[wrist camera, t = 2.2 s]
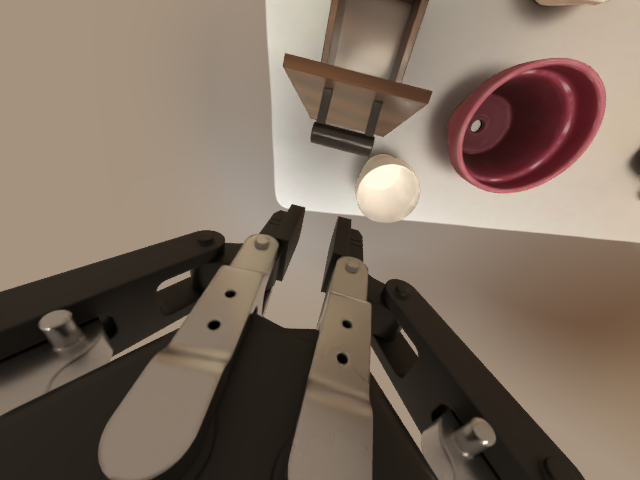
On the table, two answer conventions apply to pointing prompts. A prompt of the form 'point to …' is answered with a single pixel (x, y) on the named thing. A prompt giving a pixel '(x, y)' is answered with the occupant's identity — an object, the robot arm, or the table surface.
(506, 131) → the flower pot
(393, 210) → the cup
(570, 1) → the cup
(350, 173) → the table surface
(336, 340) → the robot arm
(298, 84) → the lid
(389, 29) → the chest
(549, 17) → the table surface
